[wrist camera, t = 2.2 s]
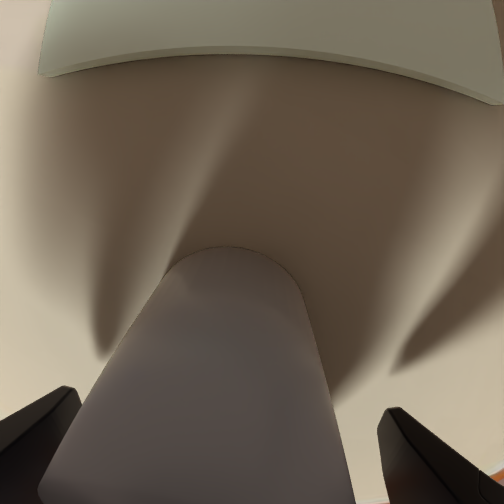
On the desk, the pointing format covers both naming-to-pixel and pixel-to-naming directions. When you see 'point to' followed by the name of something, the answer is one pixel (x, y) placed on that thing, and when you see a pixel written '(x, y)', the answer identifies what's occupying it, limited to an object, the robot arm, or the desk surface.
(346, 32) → the sage pad
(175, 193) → the desk surface
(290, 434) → the rounded connector
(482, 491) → the robot arm
